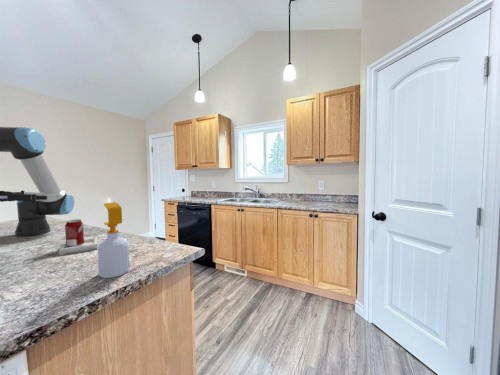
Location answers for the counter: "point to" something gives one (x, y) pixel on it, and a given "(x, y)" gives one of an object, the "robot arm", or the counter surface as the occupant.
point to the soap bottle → (113, 246)
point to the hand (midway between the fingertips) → (50, 196)
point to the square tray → (79, 247)
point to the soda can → (74, 233)
